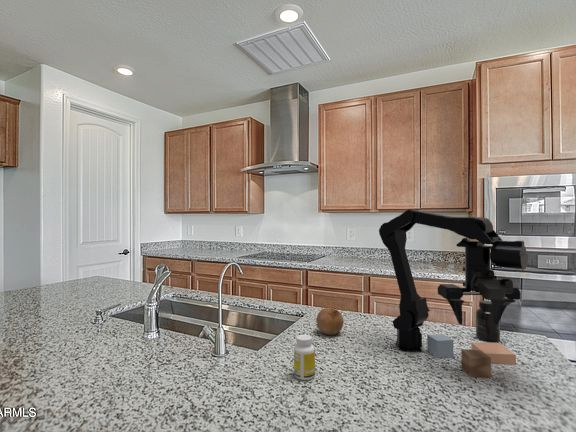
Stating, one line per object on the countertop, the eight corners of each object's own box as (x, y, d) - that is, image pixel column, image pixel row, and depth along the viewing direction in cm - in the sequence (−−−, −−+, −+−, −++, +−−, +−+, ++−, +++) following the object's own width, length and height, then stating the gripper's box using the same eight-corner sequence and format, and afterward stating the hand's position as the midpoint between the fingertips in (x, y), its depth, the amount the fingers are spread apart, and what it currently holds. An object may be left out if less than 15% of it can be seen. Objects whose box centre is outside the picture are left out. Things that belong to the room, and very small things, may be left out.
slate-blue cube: (437, 358, 91) (437, 340, 91) (427, 351, 96) (427, 334, 96) (453, 357, 91) (453, 339, 91) (442, 350, 96) (442, 333, 96)
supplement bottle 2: (504, 343, 101) (503, 305, 101) (480, 341, 102) (480, 304, 103) (494, 335, 108) (494, 300, 108) (472, 334, 109) (472, 299, 109)
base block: (484, 364, 87) (484, 353, 87) (471, 352, 95) (471, 342, 95) (516, 365, 86) (515, 354, 87) (499, 353, 94) (499, 343, 94)
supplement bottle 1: (317, 372, 83) (317, 334, 83) (312, 382, 78) (311, 342, 78) (297, 369, 84) (297, 332, 85) (291, 379, 79) (290, 339, 79)
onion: (339, 344, 108) (348, 322, 105) (312, 337, 109) (320, 314, 105) (338, 326, 117) (346, 304, 114) (313, 319, 117) (321, 297, 114)
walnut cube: (470, 377, 80) (469, 357, 80) (461, 368, 85) (461, 349, 85) (491, 378, 79) (490, 358, 79) (481, 368, 84) (481, 350, 84)
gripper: (457, 269, 75) (457, 335, 75) (537, 269, 75) (537, 336, 75) (436, 263, 87) (436, 320, 87) (506, 263, 86) (506, 320, 86)
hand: (478, 324), depth 83 cm, fingers open, 9 cm apart
